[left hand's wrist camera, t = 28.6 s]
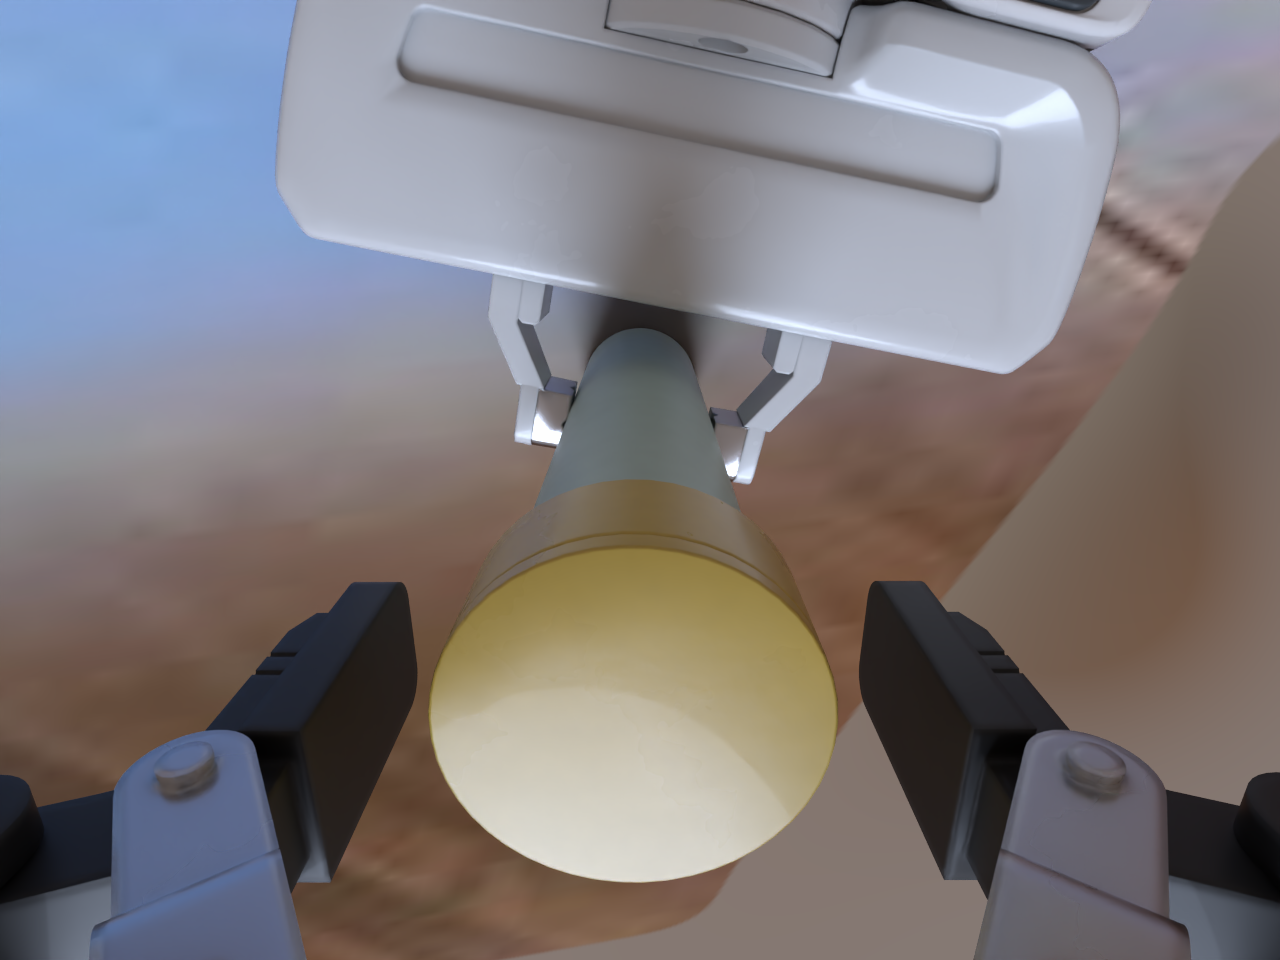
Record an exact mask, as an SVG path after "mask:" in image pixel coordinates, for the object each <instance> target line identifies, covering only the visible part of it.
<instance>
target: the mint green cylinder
mask: <svg viewBox="0 0 1280 960" xmlns="http://www.w3.org/2000/svg"><path fill="white" fill-rule="evenodd" d="M624 479H636V480H655V481H662V482H669V483H675V484H678V485H682V486H686V487H689V488H693V489H696V490H699V491H701V492H704V493H706V494H708V495H711V496H713V497H716V498H718V499H720V500H721V501H723V502H725V503H727V504H728V505H730V506H732V507H734V508H735V509H737V510H738V511H739V512H741V511H740V508H739V505H738V502H737V499H736V496H735V493H734V490H733V487H732V484H731V481H730V478H729V475H728V472H727V469H726V466H725V463H724V460H723V457H722V454H721V451H720V448H719V445H718V441H717V438H716V435H715V432H714V429H713V426H712V423H711V420H710V417H709V414H708V411H707V408H706V405H705V402H704V399H703V396H702V393H701V390H700V387H699V384H698V381H697V378H696V375H695V372H694V369H693V366H692V363H691V360H690V359H689V357H688V355H687V353H686V352H685V351H684V349H683V348H682V347H681V346H680V345H679V344H678V343H677V342H676V341H675V340H674V339H672V338H671V337H669V336H668V335H666V334H664V333H661V332H659V331H656V330H652V329H646V328H634V329H628V330H624V331H621V332H618V333H616V334H614V335H612V336H610V337H609V338H607V339H606V340H605V341H603V342H602V343H601V344H600V345H599V346H598V347H597V349H596V350H595V351H594V352H593V354H592V356H591V358H590V360H589V362H588V364H587V367H586V370H585V372H584V375H583V378H582V380H581V383H580V386H579V388H578V391H577V394H576V396H575V399H574V402H573V405H572V407H571V410H570V413H569V415H568V418H567V421H566V423H565V426H564V429H563V431H562V434H561V437H560V439H559V442H558V445H557V447H556V450H555V453H554V456H553V458H552V461H551V464H550V466H549V469H548V472H547V474H546V477H545V480H544V482H543V485H542V488H541V490H540V493H539V496H538V498H537V501H536V504H535V506H534V508H535V507H537V506H538V505H540V504H542V503H544V502H546V501H548V500H550V499H551V498H553V497H555V496H557V495H560V494H562V493H565V492H568V491H570V490H573V489H576V488H578V487H582V486H586V485H591V484H595V483H599V482H605V481H615V480H624Z"/></svg>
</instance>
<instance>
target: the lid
mask: <svg viewBox="0 0 1280 960" xmlns="http://www.w3.org/2000/svg"><path fill="white" fill-rule="evenodd" d="M428 716H429V726H430V736H431V741H432V744H433V748H434V752H435V756H436V759H437V762H438V764H439V767H440V769H441V771H442V773H443V776H444V778H445V780H446V782H447V783H448V785H449V787H450V788H451V790H452V792H453V793H454V795H455V797H456V798H457V800H458V801H459V802H460V803H461V804H462V806H463V807H464V808H465V809H466V811H467V812H468V813H469V814H470V815H471V817H473V818H474V819H475V820H476V821H477V822H478V823H479V824H480V825H481V826H482V827H483V828H484V829H485V830H486V831H487V832H489V833H490V834H491V835H493V836H494V837H495V838H497V839H498V840H499V841H501V842H502V843H503V844H505V845H506V846H508V847H509V848H511V849H513V850H515V851H516V852H518V853H520V854H522V855H523V856H525V857H527V858H529V859H531V860H534V861H536V862H538V863H540V864H543V865H545V866H547V867H550V868H553V869H556V870H559V871H562V872H565V873H568V874H572V875H576V876H581V877H586V878H590V879H596V880H604V881H613V882H655V881H667V880H672V879H678V878H683V877H689V876H693V875H696V874H700V873H703V872H707V871H710V870H714V869H716V868H719V867H721V866H724V865H726V864H729V863H731V862H733V861H736V860H738V859H740V858H741V857H743V856H745V855H747V854H749V853H751V852H752V851H754V850H756V849H758V848H759V847H760V846H762V845H763V844H765V843H766V842H768V841H769V840H771V839H772V838H774V837H775V836H776V835H777V834H778V833H780V832H781V831H782V830H783V829H784V828H785V827H786V826H787V825H788V824H790V823H791V822H792V821H793V820H794V819H795V817H796V816H797V815H798V814H799V813H800V812H801V810H802V809H803V808H804V807H805V806H806V805H807V803H808V802H809V800H810V799H811V797H812V796H813V794H814V793H815V791H816V790H817V788H818V787H819V785H820V783H821V781H822V779H823V776H824V774H825V772H826V770H827V768H828V766H829V762H830V759H831V756H832V752H833V749H834V746H835V741H836V733H837V726H838V699H837V694H836V688H835V683H834V678H833V675H832V672H831V669H830V666H829V663H828V661H827V658H826V655H825V653H824V650H823V648H822V645H821V643H820V641H819V638H818V636H817V633H816V631H815V629H814V626H813V624H812V621H811V619H810V617H809V614H808V612H807V609H806V607H805V604H804V602H803V600H802V597H801V595H800V592H799V590H798V588H797V585H796V583H795V580H794V578H793V576H792V573H791V571H790V569H789V567H788V566H787V564H786V562H785V560H784V558H783V556H782V554H781V553H780V552H779V550H778V549H777V548H776V546H775V545H774V544H773V542H772V541H771V540H770V538H769V537H768V536H767V535H766V534H765V533H764V532H763V531H762V530H761V529H760V528H759V527H758V526H757V525H756V524H755V523H754V522H753V521H751V520H750V519H749V518H747V517H746V516H745V515H743V514H742V513H741V512H739V511H738V510H737V509H735V508H734V507H732V506H730V505H728V504H727V503H725V502H723V501H721V500H720V499H718V498H716V497H713V496H711V495H708V494H706V493H704V492H701V491H699V490H696V489H693V488H689V487H686V486H682V485H678V484H675V483H669V482H662V481H655V480H636V479H624V480H615V481H605V482H599V483H595V484H591V485H586V486H582V487H578V488H576V489H573V490H570V491H568V492H565V493H562V494H560V495H557V496H555V497H553V498H551V499H550V500H548V501H546V502H544V503H542V504H540V505H538V506H537V507H535V508H534V509H532V510H531V511H530V512H528V513H527V514H525V515H524V516H523V517H521V518H520V519H519V520H518V521H517V522H515V523H514V524H513V525H512V526H511V527H510V528H509V529H508V530H507V531H506V532H505V533H504V534H503V535H502V536H501V538H500V539H499V540H498V541H497V543H496V544H495V545H494V546H493V548H492V549H491V550H490V552H489V554H488V556H487V557H486V559H485V561H484V562H483V564H482V566H481V568H480V570H479V572H478V574H477V576H476V579H475V581H474V583H473V585H472V587H471V589H470V592H469V594H468V596H467V598H466V600H465V602H464V605H463V607H462V609H461V611H460V613H459V615H458V618H457V620H456V622H455V624H454V626H453V628H452V631H451V633H450V635H449V637H448V639H447V641H446V644H445V646H444V648H443V650H442V653H441V655H440V658H439V660H438V663H437V665H436V668H435V671H434V675H433V680H432V684H431V689H430V694H429V712H428Z"/></svg>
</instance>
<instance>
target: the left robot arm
mask: <svg viewBox="0 0 1280 960" xmlns="http://www.w3.org/2000/svg"><path fill="white" fill-rule="evenodd" d="M859 681H860V689H861V694H862V699H863V702H864V705H865V707H866V709H867V711H868V714H869V716H870V718H871V720H872V722H873V725H874V727H875V729H876V731H877V733H878V736H879V738H880V740H881V742H882V744H883V747H884V749H885V751H886V753H887V755H888V757H889V760H890V762H891V764H892V766H893V769H894V771H895V773H896V775H897V777H898V779H899V782H900V784H901V786H902V788H903V790H904V793H905V795H906V797H907V799H908V801H909V804H910V806H911V808H912V810H913V812H914V815H915V817H916V819H917V821H918V823H919V826H920V828H921V830H922V832H923V834H924V837H925V839H926V841H927V843H928V845H929V848H930V850H931V852H932V854H933V856H934V859H935V861H936V863H937V865H938V867H939V870H940V872H941V874H942V876H943V878H944V880H978V882H979V884H980V886H981V888H982V890H983V892H984V894H985V896H986V898H987V900H988V901H987V906H986V910H985V914H984V918H983V922H982V926H981V930H980V935H979V939H978V943H977V947H976V951H975V955H974V959H973V960H1280V773H1279V772H1274V773H1265V774H1261V775H1258V776H1256V777H1254V778H1252V780H1251V781H1250V782H1249V783H1248V786H1247V788H1246V791H1245V794H1244V797H1243V799H1242V802H1241V805H1240V806H1237V805H1233V804H1228V803H1224V802H1219V801H1215V800H1210V799H1205V798H1201V797H1196V796H1192V795H1187V794H1183V793H1178V792H1173V791H1169V790H1166V789H1165V787H1164V785H1163V783H1162V781H1161V780H1160V778H1159V777H1158V775H1157V774H1156V773H1155V772H1154V771H1153V770H1152V769H1151V768H1150V767H1149V766H1148V765H1147V764H1146V763H1145V762H1143V761H1142V760H1141V759H1140V758H1138V757H1137V756H1135V755H1134V754H1133V753H1131V752H1129V751H1128V750H1126V749H1124V748H1122V747H1121V746H1119V745H1117V744H1114V743H1112V742H1110V741H1108V740H1105V739H1102V738H1100V737H1097V736H1094V735H1090V734H1087V733H1082V732H1077V731H1070V730H1069V728H1068V727H1067V726H1066V725H1065V724H1064V722H1063V721H1062V720H1061V719H1060V718H1059V716H1058V715H1057V714H1056V713H1055V712H1054V710H1053V709H1052V708H1051V707H1050V706H1049V704H1048V703H1047V702H1046V701H1045V700H1044V698H1043V697H1042V696H1041V695H1040V694H1039V692H1038V691H1037V690H1036V689H1035V687H1034V686H1033V685H1032V684H1031V683H1030V681H1029V680H1028V679H1027V678H1026V677H1025V675H1024V674H1023V673H1019V668H1018V667H1017V666H1016V665H1015V663H1014V662H1013V661H1012V660H1011V659H1010V657H1009V656H1008V655H1005V654H1004V650H1003V649H1002V648H1001V646H1000V645H999V644H998V643H997V642H996V640H995V639H994V638H993V637H992V636H991V634H990V633H989V632H988V631H987V630H986V629H985V628H983V627H981V626H980V625H978V624H977V623H975V622H973V621H972V620H970V619H969V618H967V617H966V616H964V615H963V614H961V613H959V612H947V611H946V610H945V608H944V607H943V606H942V605H941V603H940V602H939V601H938V599H937V598H936V597H935V595H934V594H933V593H932V592H931V590H930V589H929V588H928V586H927V585H926V584H925V583H924V582H922V581H875V582H873V583H872V585H871V587H870V589H869V593H868V599H867V607H866V615H865V623H864V631H863V639H862V647H861V655H860V663H859ZM416 686H417V661H416V653H415V646H414V638H413V630H412V622H411V614H410V607H409V599H408V593H407V590H406V587H405V585H404V584H403V583H401V582H354V583H352V584H351V585H350V586H349V587H348V588H347V590H346V591H345V592H344V594H343V595H342V596H341V597H340V599H339V600H338V601H337V603H336V604H335V605H334V606H333V608H332V609H331V610H330V612H329V613H316V614H315V615H313V616H312V617H310V618H309V619H307V620H305V621H304V622H302V623H301V624H299V625H298V626H296V627H295V628H293V629H291V630H290V631H288V633H287V634H286V635H285V636H284V637H283V639H282V640H281V641H280V642H279V643H278V645H277V646H276V647H275V648H274V649H273V650H272V652H271V656H270V657H267V658H266V659H265V660H264V661H263V662H262V664H261V665H260V666H259V667H258V668H257V670H256V674H255V675H252V676H251V677H250V678H249V679H248V680H247V682H246V683H245V684H244V685H243V686H242V688H241V689H240V690H239V691H238V692H237V693H236V695H235V696H234V697H233V698H232V699H231V701H230V702H229V703H228V704H227V705H226V707H225V708H224V709H223V710H222V711H221V713H220V714H219V715H218V716H217V717H216V719H215V720H214V721H213V722H212V723H211V725H210V726H209V727H208V728H207V729H206V731H203V732H198V733H193V734H190V735H186V736H183V737H180V738H177V739H175V740H172V741H170V742H168V743H166V744H163V745H161V746H159V747H158V748H156V749H154V750H152V751H151V752H149V753H147V754H146V755H145V756H143V757H142V758H140V759H139V760H138V761H136V762H135V763H134V764H133V765H132V766H131V767H130V768H129V769H128V770H127V771H126V772H125V773H124V774H123V775H122V777H121V778H120V780H119V781H118V783H117V785H116V787H115V789H114V790H113V791H109V792H105V793H101V794H97V795H92V796H88V797H83V798H78V799H74V800H69V801H65V802H60V803H56V804H51V805H47V806H42V807H37V806H36V804H35V801H34V798H33V796H32V793H31V790H30V788H29V785H28V784H27V783H26V782H25V781H24V780H22V779H20V778H18V777H14V776H10V775H0V960H307V959H306V955H305V951H304V947H303V943H302V939H301V935H300V930H299V926H298V922H297V918H296V914H295V910H294V906H293V901H292V897H291V893H292V891H293V889H294V887H295V885H296V883H297V882H331V880H332V878H333V876H334V874H335V871H336V869H337V867H338V865H339V863H340V861H341V858H342V856H343V854H344V852H345V850H346V848H347V845H348V843H349V841H350V839H351V837H352V835H353V832H354V830H355V828H356V826H357V824H358V822H359V819H360V817H361V815H362V813H363V811H364V809H365V806H366V804H367V802H368V800H369V798H370V796H371V793H372V791H373V789H374V787H375V785H376V783H377V780H378V778H379V776H380V774H381V772H382V770H383V767H384V765H385V763H386V761H387V759H388V757H389V754H390V752H391V750H392V748H393V746H394V744H395V741H396V739H397V737H398V735H399V733H400V731H401V728H402V726H403V724H404V722H405V720H406V718H407V715H408V713H409V711H410V709H411V707H412V704H413V701H414V697H415V693H416Z"/></svg>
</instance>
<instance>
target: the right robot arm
mask: <svg viewBox="0 0 1280 960" xmlns="http://www.w3.org/2000/svg"><path fill="white" fill-rule="evenodd" d="M1151 2H1152V0H297V2H296V7H295V12H294V17H293V23H292V29H291V34H290V40H289V45H288V51H287V57H286V64H285V71H284V78H283V86H282V93H281V101H280V111H279V121H278V132H277V145H276V159H275V180H276V187H277V190H278V193H279V195H280V197H281V198H282V200H283V202H284V203H285V205H286V206H287V208H288V210H289V211H290V213H291V215H292V216H293V218H294V219H295V221H296V222H297V224H298V225H299V227H300V228H301V229H302V231H303V232H304V233H305V234H306V235H308V236H309V237H312V238H315V239H320V240H324V241H329V242H334V243H339V244H344V245H349V246H355V247H360V248H365V249H370V250H375V251H380V252H385V253H390V254H395V255H400V256H405V257H410V258H415V259H420V260H425V261H430V262H436V263H441V264H446V265H451V266H456V267H461V268H466V269H471V270H476V271H481V272H486V273H491V274H493V277H492V286H491V294H490V303H489V311H488V319H489V321H490V323H491V326H492V328H493V330H494V333H495V335H496V337H497V340H498V342H499V344H500V347H501V349H502V351H503V354H504V356H505V358H506V361H507V363H508V365H509V368H510V370H511V372H512V375H513V377H514V379H515V382H516V384H519V385H521V388H520V395H519V403H518V410H517V417H516V425H515V432H514V439H515V441H516V442H520V443H524V444H528V445H531V444H532V445H538V446H544V447H549V448H555V449H556V447H557V445H558V442H559V439H560V437H561V434H562V431H563V429H564V426H565V423H566V421H567V418H568V415H569V413H570V410H571V407H572V405H573V402H574V399H575V395H576V388H577V382H576V381H572V380H567V379H562V378H558V377H553V376H551V372H550V370H549V367H548V364H547V361H546V359H545V356H544V353H543V351H542V348H541V345H540V343H539V340H538V337H537V335H536V332H535V329H534V326H533V325H536V324H538V323H539V322H540V321H541V320H542V319H543V318H544V317H545V316H546V315H547V314H548V313H549V310H550V303H551V297H552V291H553V286H557V287H562V288H567V289H572V290H577V291H582V292H587V293H592V294H598V295H603V296H608V297H613V298H618V299H623V300H628V301H633V302H638V303H643V304H648V305H653V306H658V307H663V308H668V309H673V310H679V311H684V312H689V313H694V314H699V315H704V316H709V317H714V318H719V319H724V320H729V321H734V322H739V323H744V324H749V325H754V326H760V327H765V328H768V329H767V333H766V337H765V341H764V346H763V350H762V355H763V357H764V358H765V359H766V361H767V362H768V363H769V364H770V365H771V366H772V368H773V370H772V371H771V372H770V373H769V374H768V375H767V376H766V377H765V379H764V380H763V381H762V382H761V383H760V384H759V385H758V386H757V387H756V388H755V390H754V391H753V392H752V393H751V394H750V395H749V396H748V397H747V398H746V399H745V401H744V402H743V403H742V404H741V405H740V406H739V407H738V408H737V409H736V410H737V411H732V410H726V409H720V408H714V407H710V411H709V417H710V420H711V423H712V426H713V429H714V432H715V435H716V438H717V441H718V445H719V448H720V451H721V454H722V457H723V460H724V463H725V466H726V469H727V472H728V475H729V478H730V481H731V482H732V481H733V482H737V483H742V484H748V485H749V484H750V483H751V481H752V479H753V477H754V473H755V470H756V466H757V462H758V458H759V455H760V451H761V447H762V443H763V439H764V436H765V432H766V431H768V432H770V431H771V430H772V429H773V428H774V427H775V426H776V425H777V424H778V423H779V422H780V421H781V420H782V419H783V418H785V417H786V416H787V415H788V414H789V413H790V412H791V411H792V410H793V409H794V408H795V407H796V406H797V405H798V404H799V403H800V402H801V401H802V400H803V399H804V398H805V397H806V396H807V395H808V394H809V393H810V392H811V391H812V390H813V389H814V388H815V387H816V386H817V385H818V384H819V383H820V382H821V378H822V375H823V371H824V368H825V364H826V361H827V358H828V354H829V351H830V347H831V344H832V341H835V342H841V343H846V344H851V345H856V346H861V347H866V348H871V349H876V350H881V351H886V352H891V353H896V354H901V355H906V356H911V357H916V358H922V359H927V360H932V361H937V362H942V363H947V364H952V365H957V366H962V367H967V368H972V369H977V370H983V371H988V372H993V373H998V374H1008V373H1010V372H1013V371H1014V370H1016V369H1017V368H1019V367H1020V366H1022V365H1023V364H1025V363H1026V362H1027V361H1028V360H1030V359H1031V358H1032V357H1034V356H1035V355H1036V354H1037V353H1039V352H1040V351H1041V350H1042V349H1044V348H1045V347H1046V346H1047V345H1049V343H1050V342H1051V341H1052V340H1053V338H1054V337H1055V335H1056V333H1057V331H1058V329H1059V328H1060V326H1061V323H1062V321H1063V319H1064V316H1065V314H1066V312H1067V309H1068V307H1069V304H1070V302H1071V299H1072V296H1073V294H1074V291H1075V288H1076V285H1077V283H1078V280H1079V277H1080V275H1081V272H1082V269H1083V266H1084V263H1085V260H1086V257H1087V254H1088V251H1089V248H1090V245H1091V242H1092V239H1093V236H1094V233H1095V229H1096V226H1097V223H1098V220H1099V216H1100V213H1101V210H1102V206H1103V203H1104V199H1105V196H1106V192H1107V188H1108V185H1109V181H1110V177H1111V173H1112V169H1113V165H1114V161H1115V157H1116V151H1117V146H1118V140H1119V130H1120V108H1119V100H1118V95H1117V91H1116V87H1115V84H1114V82H1113V80H1112V78H1111V76H1110V74H1109V72H1108V71H1107V69H1106V68H1105V67H1104V65H1103V64H1102V63H1101V62H1100V61H1099V60H1098V59H1097V58H1096V57H1095V56H1094V55H1093V54H1091V53H1090V51H1092V50H1094V49H1097V48H1099V47H1101V46H1103V45H1105V44H1107V43H1109V42H1111V41H1113V40H1114V39H1116V38H1118V37H1120V36H1122V35H1124V34H1126V33H1127V32H1129V31H1130V30H1132V29H1133V28H1134V27H1135V26H1136V25H1137V24H1138V23H1139V22H1140V21H1141V19H1142V18H1143V16H1144V15H1145V13H1146V12H1147V10H1148V8H1149V6H1150V4H1151Z"/></svg>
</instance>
